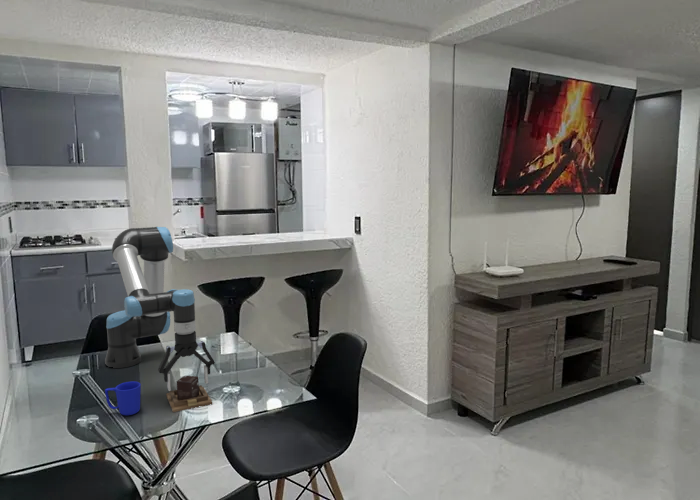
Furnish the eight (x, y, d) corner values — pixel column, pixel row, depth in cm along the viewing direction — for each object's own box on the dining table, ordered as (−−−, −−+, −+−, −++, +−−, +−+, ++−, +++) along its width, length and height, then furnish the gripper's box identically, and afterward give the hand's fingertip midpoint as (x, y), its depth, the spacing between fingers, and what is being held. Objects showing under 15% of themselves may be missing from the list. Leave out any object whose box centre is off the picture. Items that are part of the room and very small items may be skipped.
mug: (111, 408, 188) (109, 382, 187) (145, 406, 189) (143, 380, 188) (102, 418, 180) (100, 391, 179) (138, 416, 181) (136, 389, 180)
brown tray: (166, 395, 199) (166, 389, 198) (203, 388, 205) (203, 382, 205) (172, 412, 185) (172, 405, 184) (212, 404, 191) (212, 397, 191)
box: (191, 401, 191) (190, 382, 190) (177, 400, 193) (175, 381, 192) (199, 394, 197) (198, 376, 196) (185, 393, 199) (184, 375, 198)
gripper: (150, 339, 182) (154, 396, 185) (221, 329, 194) (223, 383, 197) (148, 333, 189) (151, 388, 192) (216, 324, 200) (218, 376, 203)
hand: (188, 386), depth 194 cm, fingers open, 13 cm apart
